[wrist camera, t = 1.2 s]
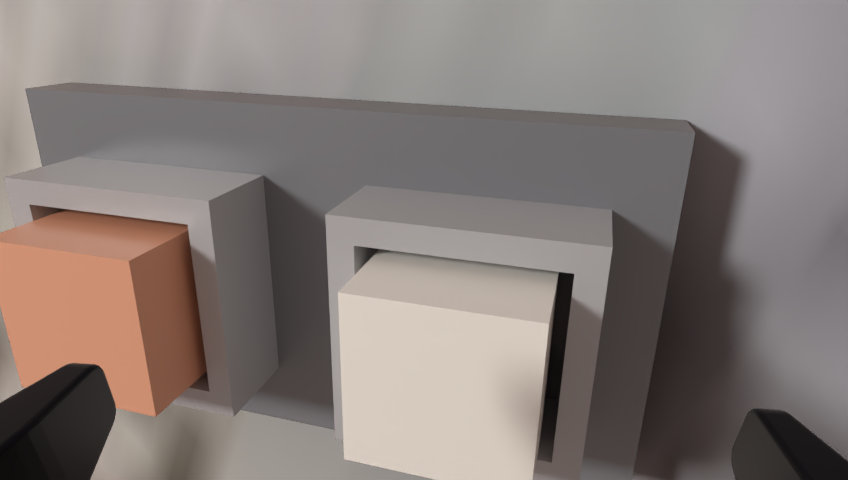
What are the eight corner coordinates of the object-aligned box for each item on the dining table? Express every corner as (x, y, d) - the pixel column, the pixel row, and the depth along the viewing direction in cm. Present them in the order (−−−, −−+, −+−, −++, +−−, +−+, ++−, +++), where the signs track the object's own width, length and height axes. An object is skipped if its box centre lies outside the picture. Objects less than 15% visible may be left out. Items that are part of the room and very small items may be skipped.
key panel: (627, 452, 22) (632, 567, 17) (122, 353, 27) (26, 420, 23) (686, 120, 17) (713, 158, 13) (71, 82, 23) (-60, 99, 18)
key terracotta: (215, 363, 20) (155, 416, 18) (95, 339, 22) (21, 386, 19) (198, 225, 19) (128, 261, 16) (67, 208, 20) (-17, 239, 17)
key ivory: (541, 426, 18) (530, 500, 15) (381, 395, 19) (344, 458, 16) (559, 270, 16) (549, 323, 13) (380, 248, 17) (337, 292, 14)
